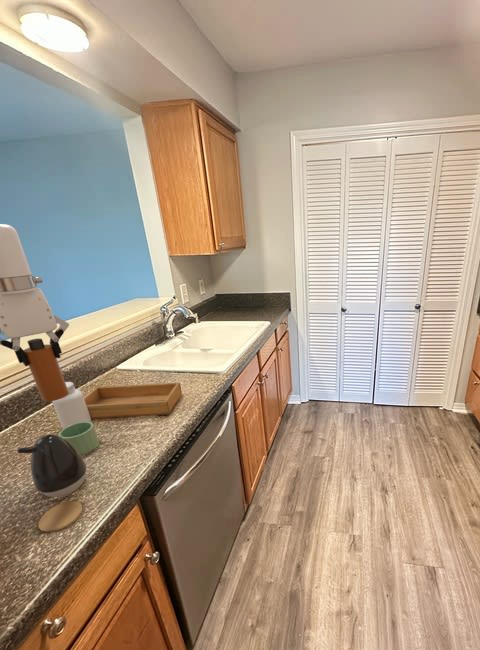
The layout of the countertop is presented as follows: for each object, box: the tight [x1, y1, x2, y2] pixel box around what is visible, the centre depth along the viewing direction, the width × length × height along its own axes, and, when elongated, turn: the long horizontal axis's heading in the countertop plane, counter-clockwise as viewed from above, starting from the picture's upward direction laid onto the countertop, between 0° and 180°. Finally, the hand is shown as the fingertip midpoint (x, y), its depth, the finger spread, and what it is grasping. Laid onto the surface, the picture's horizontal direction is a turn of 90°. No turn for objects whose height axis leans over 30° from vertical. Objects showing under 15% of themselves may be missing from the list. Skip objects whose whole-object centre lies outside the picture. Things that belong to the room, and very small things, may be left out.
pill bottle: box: [51, 381, 92, 430], centre depth 102 cm, size 8×8×15 cm
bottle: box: [23, 338, 69, 402], centre depth 79 cm, size 6×6×15 cm
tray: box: [83, 382, 183, 420], centre depth 114 cm, size 31×15×6 cm, turn 93°
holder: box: [57, 421, 100, 456], centre depth 93 cm, size 8×8×6 cm
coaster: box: [37, 500, 83, 533], centre depth 71 cm, size 8×8×1 cm
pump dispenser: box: [16, 433, 87, 498], centre depth 76 cm, size 10×10×15 cm
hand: (42, 360), depth 78 cm, fingers closed on bottle, 5 cm apart
